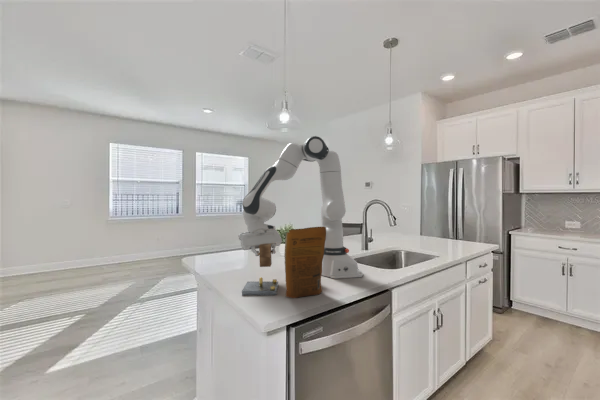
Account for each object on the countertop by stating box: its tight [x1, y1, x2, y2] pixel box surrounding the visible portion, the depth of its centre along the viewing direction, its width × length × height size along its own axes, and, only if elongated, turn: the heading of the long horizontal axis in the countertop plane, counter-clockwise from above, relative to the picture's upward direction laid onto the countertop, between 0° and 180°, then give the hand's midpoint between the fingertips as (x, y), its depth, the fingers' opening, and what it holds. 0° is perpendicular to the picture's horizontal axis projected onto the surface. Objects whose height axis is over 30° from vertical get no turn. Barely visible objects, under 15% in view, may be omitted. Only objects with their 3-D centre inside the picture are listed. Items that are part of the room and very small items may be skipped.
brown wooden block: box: [258, 243, 273, 268], centre depth 130 cm, size 5×5×10 cm
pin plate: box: [241, 277, 279, 296], centre depth 118 cm, size 14×12×6 cm
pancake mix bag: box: [284, 226, 326, 299], centre depth 112 cm, size 7×19×28 cm, turn 112°
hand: (266, 254), depth 129 cm, fingers closed on brown wooden block, 7 cm apart
